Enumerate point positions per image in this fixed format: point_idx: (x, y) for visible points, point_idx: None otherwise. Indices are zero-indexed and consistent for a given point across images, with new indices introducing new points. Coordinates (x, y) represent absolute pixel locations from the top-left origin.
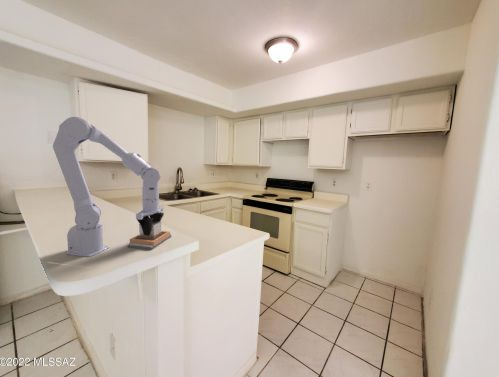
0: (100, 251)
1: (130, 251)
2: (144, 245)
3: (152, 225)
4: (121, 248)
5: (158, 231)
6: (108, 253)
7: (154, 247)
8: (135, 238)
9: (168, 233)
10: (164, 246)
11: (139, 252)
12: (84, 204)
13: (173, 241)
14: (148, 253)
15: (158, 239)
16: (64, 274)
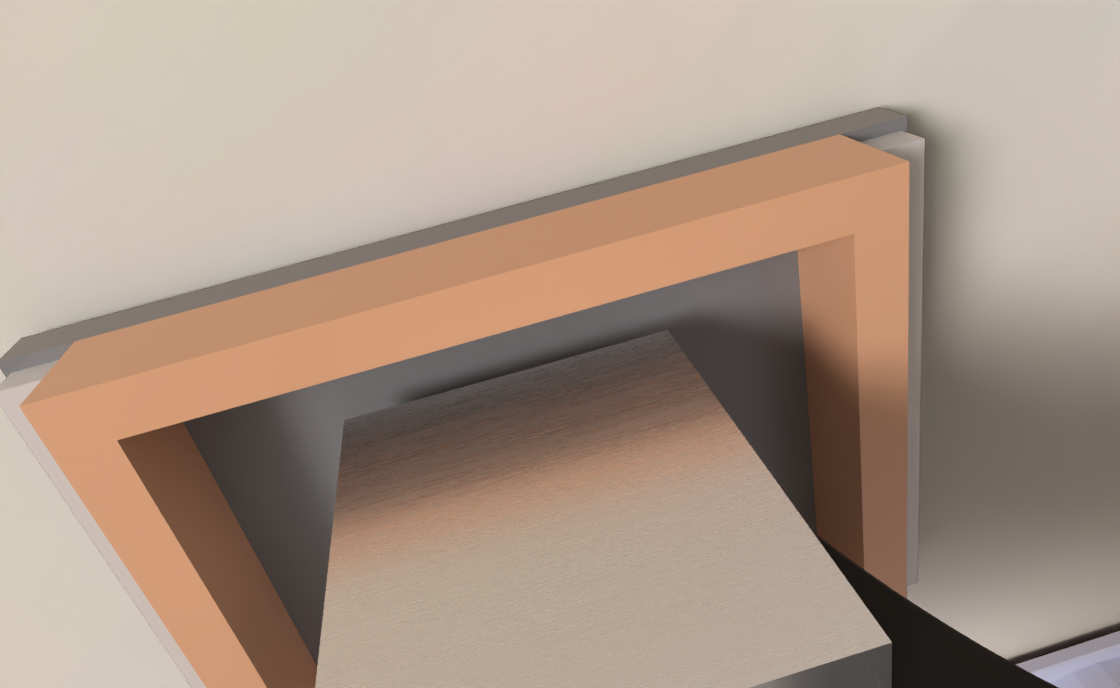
0: (1097, 644)
1: (989, 390)
2: (914, 303)
3: (884, 668)
4: (920, 573)
5: (494, 488)
6: (1092, 552)
7: (796, 133)
8: None
9: (134, 362)
10: (596, 15)
11: (1000, 236)
12: None
13: (209, 51)
14: (1013, 46)
15: (684, 214)
16: None
